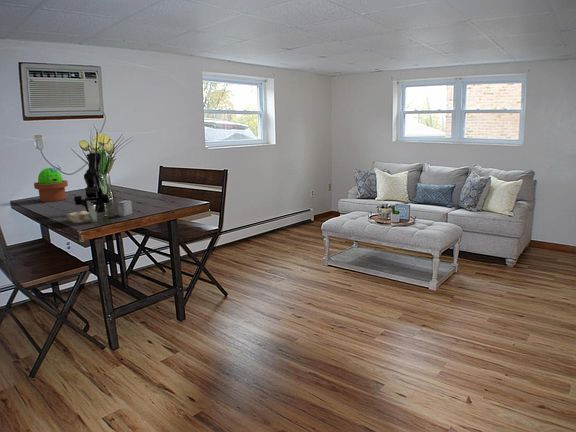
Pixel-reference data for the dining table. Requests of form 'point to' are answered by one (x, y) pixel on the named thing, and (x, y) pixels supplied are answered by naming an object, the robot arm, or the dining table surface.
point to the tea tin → (92, 213)
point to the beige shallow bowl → (78, 216)
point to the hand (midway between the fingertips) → (92, 211)
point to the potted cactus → (51, 185)
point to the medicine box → (125, 208)
